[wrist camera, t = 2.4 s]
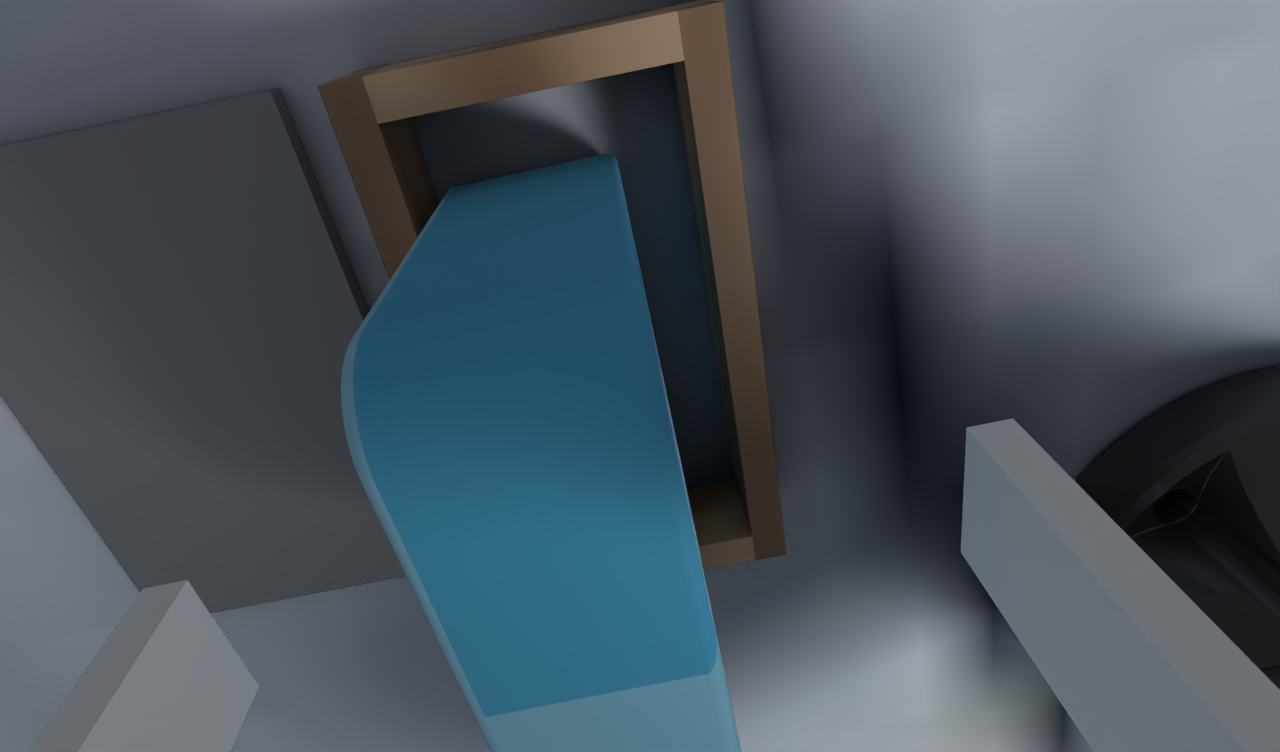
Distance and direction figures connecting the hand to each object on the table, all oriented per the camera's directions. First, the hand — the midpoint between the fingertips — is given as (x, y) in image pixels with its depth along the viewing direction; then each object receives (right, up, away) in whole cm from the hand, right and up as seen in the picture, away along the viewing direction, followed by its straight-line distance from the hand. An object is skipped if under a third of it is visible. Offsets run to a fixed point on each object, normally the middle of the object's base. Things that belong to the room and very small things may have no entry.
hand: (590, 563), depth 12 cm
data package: (-1, +4, +11) cm, 11 cm away
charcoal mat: (-12, +3, +10) cm, 16 cm away
